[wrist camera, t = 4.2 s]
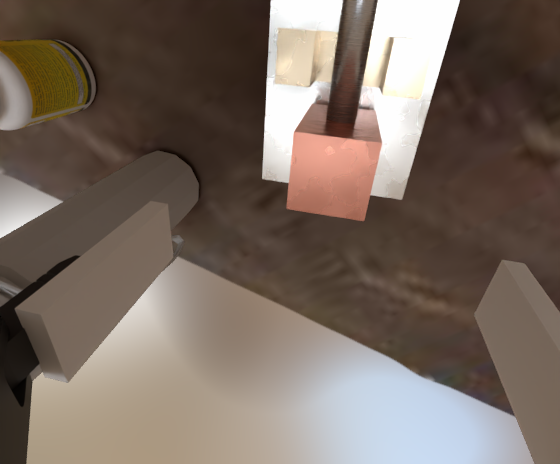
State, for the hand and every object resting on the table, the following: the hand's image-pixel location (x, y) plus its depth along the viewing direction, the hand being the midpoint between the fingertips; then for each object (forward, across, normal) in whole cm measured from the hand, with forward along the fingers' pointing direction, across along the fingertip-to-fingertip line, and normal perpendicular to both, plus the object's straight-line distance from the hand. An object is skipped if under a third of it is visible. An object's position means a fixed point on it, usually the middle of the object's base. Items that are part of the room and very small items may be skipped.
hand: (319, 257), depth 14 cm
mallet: (+17, 0, +10) cm, 20 cm away
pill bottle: (+19, -26, +2) cm, 33 cm away
